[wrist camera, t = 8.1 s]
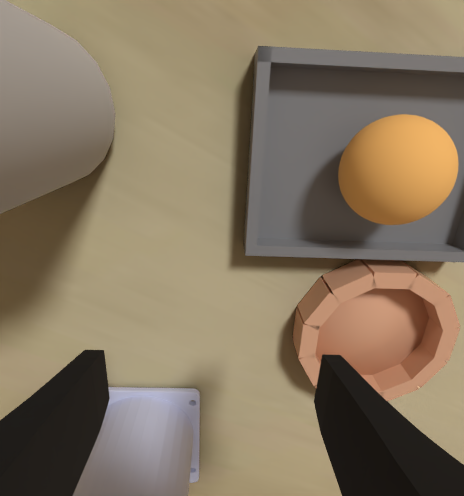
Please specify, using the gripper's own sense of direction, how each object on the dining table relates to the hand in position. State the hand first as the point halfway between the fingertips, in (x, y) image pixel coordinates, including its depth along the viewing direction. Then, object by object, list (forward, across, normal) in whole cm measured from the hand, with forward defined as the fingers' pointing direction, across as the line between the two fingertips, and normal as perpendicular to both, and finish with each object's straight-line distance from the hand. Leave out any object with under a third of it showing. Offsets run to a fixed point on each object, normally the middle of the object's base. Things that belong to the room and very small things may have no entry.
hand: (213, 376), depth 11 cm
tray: (+10, -8, -6) cm, 14 cm away
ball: (+7, -8, -6) cm, 12 cm away
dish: (+10, -10, +4) cm, 15 cm away
